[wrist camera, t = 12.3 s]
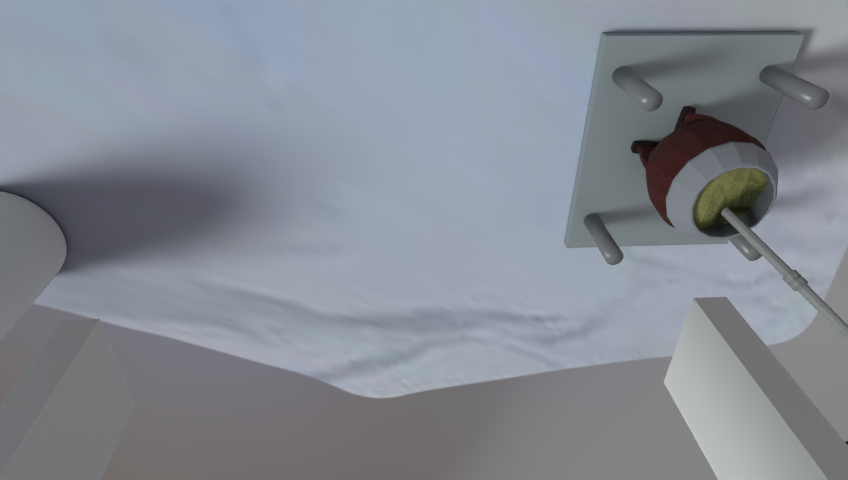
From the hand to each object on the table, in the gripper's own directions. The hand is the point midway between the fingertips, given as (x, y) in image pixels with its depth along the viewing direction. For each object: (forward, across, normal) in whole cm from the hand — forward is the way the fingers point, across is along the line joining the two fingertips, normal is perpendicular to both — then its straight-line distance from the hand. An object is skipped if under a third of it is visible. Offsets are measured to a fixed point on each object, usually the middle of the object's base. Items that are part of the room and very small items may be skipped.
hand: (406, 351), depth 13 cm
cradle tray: (+27, +20, -7) cm, 34 cm away
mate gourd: (+26, +20, -7) cm, 34 cm away
